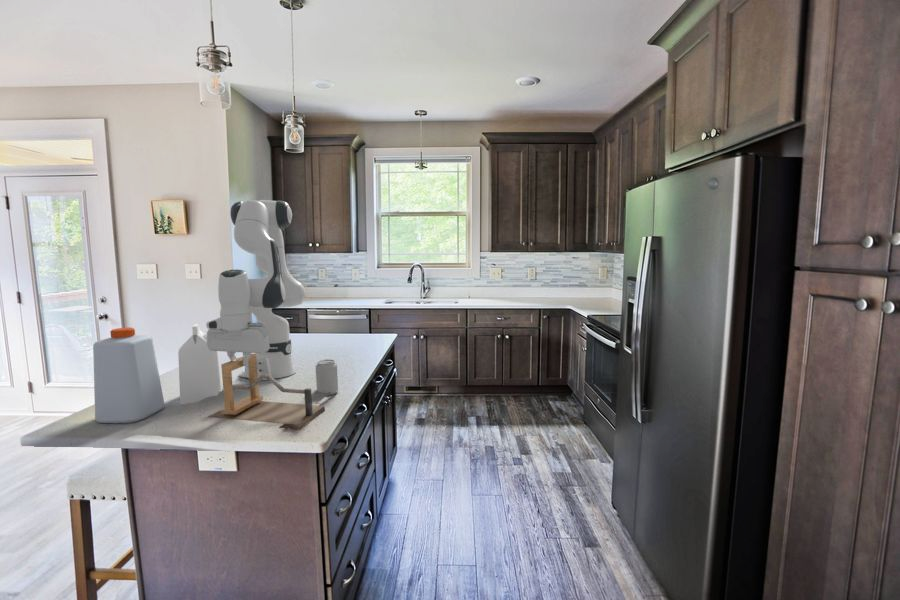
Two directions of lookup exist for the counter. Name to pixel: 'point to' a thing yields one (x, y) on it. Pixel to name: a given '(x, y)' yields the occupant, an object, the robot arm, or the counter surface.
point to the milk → (198, 369)
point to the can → (327, 376)
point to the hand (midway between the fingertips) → (240, 365)
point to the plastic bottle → (126, 378)
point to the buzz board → (277, 408)
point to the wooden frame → (228, 387)
